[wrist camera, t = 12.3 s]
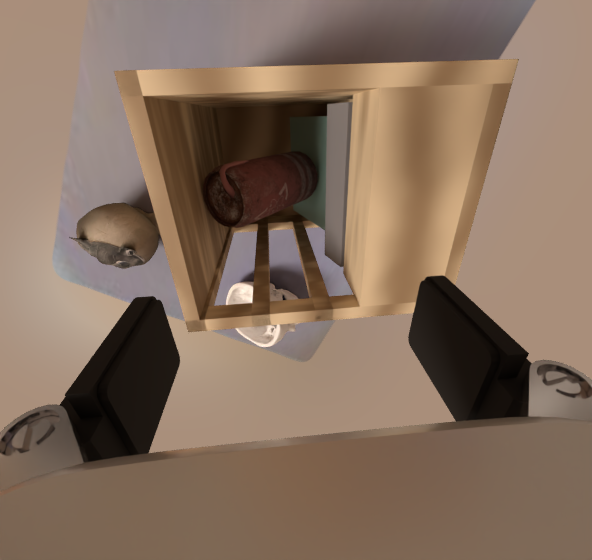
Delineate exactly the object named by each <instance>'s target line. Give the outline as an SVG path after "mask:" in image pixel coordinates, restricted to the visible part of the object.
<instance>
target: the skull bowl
mask: <svg viewBox="0 0 592 560" xmlns="http://www.w3.org/2000/svg"><path fill="white" fill-rule="evenodd" d="M253 285H254V282H240V283H237V284H234V285H233V286H232V287H231V289H230V291H229V293H228V296H227V300H226V305H232V304H244V303H252V298H253ZM283 295H284V297H285V298H286V300H294V299H298V297H297V296H296V295H294V294H292V293H291V292H289V291H288V290H283V289H278V290H277V289H275V286H274V284H272V283H270V301H282V300H283V298H282V296H283ZM297 324H299V323H291V324H279V325H267V326H255V327H244V328H236V330H237V331H238V332H239V333H240V334H241V335H242V336H244V337H245V338H247V339H248V340H250V341H252V342H253V343H255V344H257V345H258V346H261V347H269V346H272V345H274V344H275V343H277V342H279V341H280V340H281V339H282V338H283V336H284V335H285V333H286V332H287V331H295V325H297Z"/></svg>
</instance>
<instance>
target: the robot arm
mask: <svg viewBox="0 0 592 560" xmlns="http://www.w3.org/2000/svg"><path fill="white" fill-rule="evenodd" d="M408 338H409V344H410V346H411V348H412V350H413V351H414V353H415V355H416V356H417V358H418V360H419V361H420V363H421V365H422V366H423V368H424V369H425V371H426V373H427V374H428V376H429V377H430V379H431V381H432V382H433V384H434V386H435V387H436V389H437V391H438V392H439V394H440V396H441V397H442V399H443V401H444V402H445V404H446V406H447V407H448V409H449V411H450V412H451V414H452V415H453V417H454V419H455V420H456V422H446V423H435V424H426V425H415V426H404V427H393V428H383V429H373V430H363V431H353V432H343V433H333V434H323V435H314V436H303V437H293V438H284V439H274V440H264V441H255V442H245V443H236V444H227V445H217V446H208V447H199V448H189V449H181V450H172V451H163V452H156V453H149V450H150V447H151V444H152V441H153V438H154V435H155V433H156V430H157V427H158V424H159V421H160V418H161V416H162V413H163V410H164V407H165V404H166V402H167V399H168V396H169V393H170V390H171V387H172V384H173V382H174V379H175V376H176V373H177V370H178V367H179V364H180V357H179V353H178V350H177V347H176V344H175V341H174V338H173V335H172V332H171V329H170V326H169V323H168V320H167V317H166V314H165V311H164V307H163V304H162V302H161V301H160V300H156V298H155V297H153V296H150V297H137V298H135V299H134V300H133V301H132V302H131V304H130V305H129V307H128V308H127V309H126V311H125V312H124V313H123V315H122V316H121V318H120V319H119V321H118V322H117V323H116V325H115V326H114V327H113V329H112V330H111V332H110V333H109V335H108V336H107V337H106V338H105V340H104V341H103V343H102V344H101V346H100V347H99V348H98V350H97V351H96V352H95V354H94V355H93V356H92V358H91V359H90V361H89V362H88V364H87V365H86V366H85V368H84V369H83V370H82V372H81V373H80V374H79V376H78V377H77V379H76V380H75V381H74V383H73V384H72V386H71V387H70V388H69V390H68V391H67V392H66V394H65V396H66V397H65V398H64V400H63V401H62V402H61V404H60V405H46V406H41V407H38V408H35V409H33V410H31V411H28V412H26V413H24V414H23V415H21V416H20V417H18V418H16V419H15V420H14V421H12V422H11V423H10V424H8V425H7V426H6V427H5V428H4V429H3V430H2V431H1V432H0V560H592V380H591V379H590V378H589V377H587V376H586V375H585V374H583V373H582V372H580V371H578V370H576V369H575V368H573V367H571V366H568V365H565V364H563V363H559V362H556V361H551V360H540V361H535V362H534V363H531V362H529V361H528V360H527V359H526V358H527V356H528V354H529V353H528V352H527V351H525V350H524V349H523V348H522V347H521V346H520V345H519V344H518V343H517V342H515V340H514V339H512V338H511V337H510V336H509V335H508V334H507V333H506V332H505V331H504V330H503V329H501V327H499V326H498V325H497V324H496V323H495V322H494V321H493V320H492V319H491V318H490V317H489V316H488V315H487V314H485V313H484V312H483V311H482V310H481V309H480V308H479V307H478V306H477V305H476V304H475V303H474V302H472V301H471V300H470V299H469V298H468V297H467V296H466V295H465V294H464V293H463V292H462V291H461V290H459V289H458V288H457V287H456V286H455V285H454V284H453V283H452V282H451V281H450V280H449V279H448V278H447V277H445V276H443V275H440V276H427V277H426V278H425V280H424V281H421V283H420V286H419V290H418V295H417V299H416V304H415V309H414V313H413V318H412V323H411V327H410V332H409V337H408Z"/></svg>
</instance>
